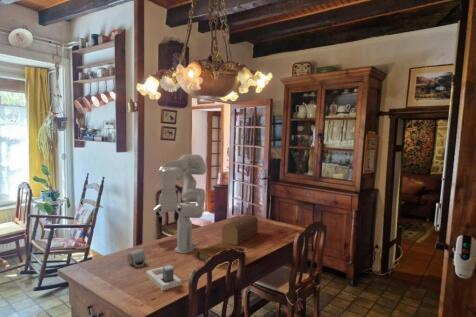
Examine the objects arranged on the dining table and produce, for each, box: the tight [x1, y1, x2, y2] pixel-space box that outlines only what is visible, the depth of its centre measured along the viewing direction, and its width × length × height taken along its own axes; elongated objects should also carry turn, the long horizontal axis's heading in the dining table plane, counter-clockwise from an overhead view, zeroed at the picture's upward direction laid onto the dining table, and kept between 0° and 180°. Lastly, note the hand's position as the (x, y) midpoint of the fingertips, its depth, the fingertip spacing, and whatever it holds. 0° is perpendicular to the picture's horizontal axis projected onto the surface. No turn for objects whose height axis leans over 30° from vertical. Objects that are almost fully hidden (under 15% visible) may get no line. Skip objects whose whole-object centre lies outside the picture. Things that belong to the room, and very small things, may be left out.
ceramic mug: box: [126, 248, 146, 268], centre depth 177 cm, size 11×8×8 cm
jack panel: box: [145, 266, 182, 291], centre depth 158 cm, size 10×20×2 cm, turn 39°
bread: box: [221, 214, 259, 246], centre depth 229 cm, size 14×34×14 cm, turn 152°
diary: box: [196, 242, 245, 267], centre depth 190 cm, size 23×19×6 cm
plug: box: [162, 264, 175, 283], centre depth 154 cm, size 4×4×9 cm
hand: (168, 221), depth 169 cm, fingers open, 9 cm apart
